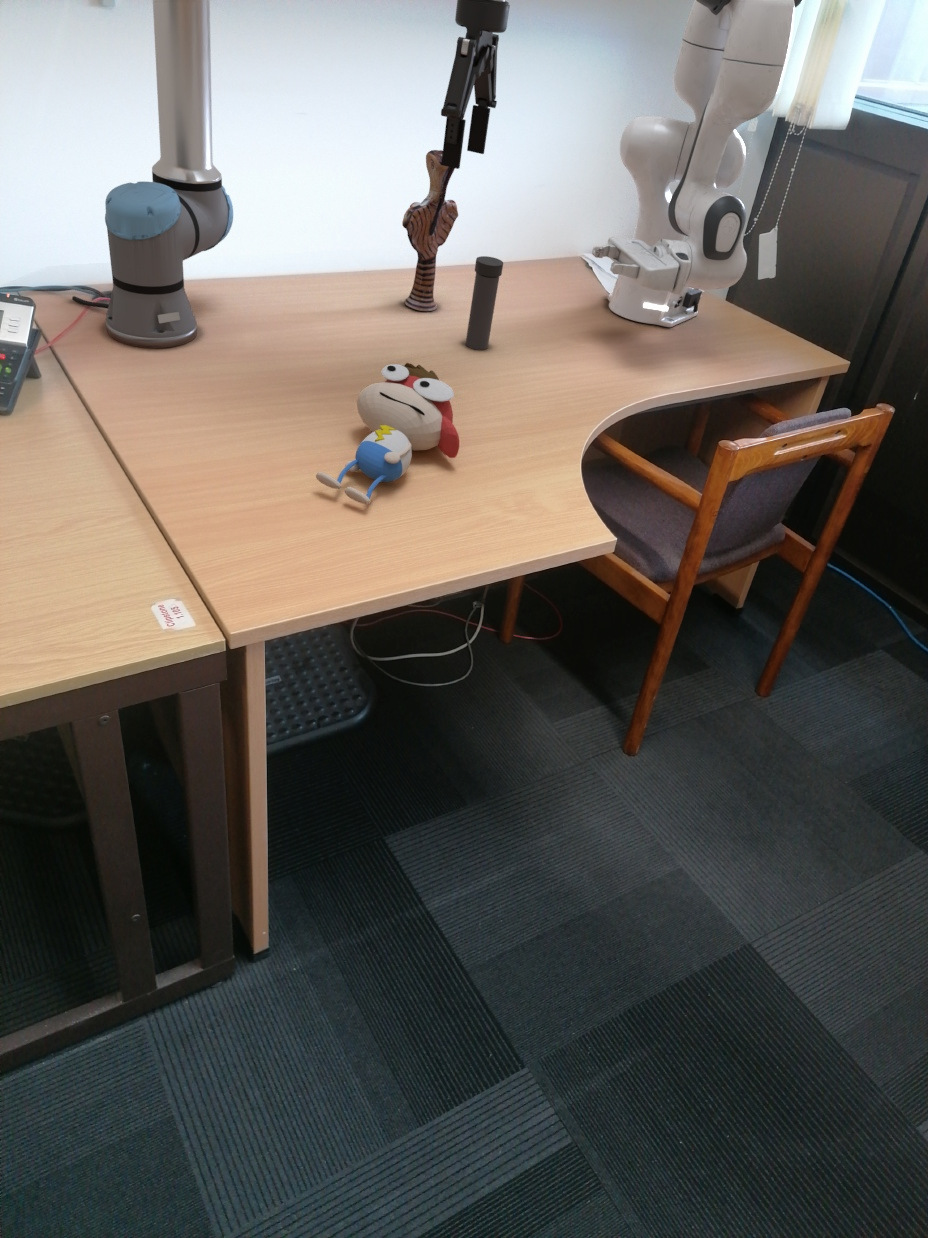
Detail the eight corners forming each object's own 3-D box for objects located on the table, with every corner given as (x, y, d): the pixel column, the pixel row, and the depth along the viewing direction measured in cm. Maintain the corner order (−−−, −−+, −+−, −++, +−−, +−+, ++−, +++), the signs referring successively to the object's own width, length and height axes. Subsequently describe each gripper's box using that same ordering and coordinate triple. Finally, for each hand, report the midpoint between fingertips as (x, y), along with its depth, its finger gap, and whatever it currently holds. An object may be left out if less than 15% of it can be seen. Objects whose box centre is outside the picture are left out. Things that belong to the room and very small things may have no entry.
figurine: (429, 292, 193) (447, 140, 175) (457, 304, 190) (478, 150, 172) (386, 306, 183) (400, 146, 165) (414, 318, 180) (432, 157, 162)
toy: (278, 428, 121) (396, 343, 140) (277, 485, 128) (389, 398, 148) (391, 486, 117) (497, 391, 136) (384, 542, 124) (485, 444, 143)
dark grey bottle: (487, 351, 173) (501, 268, 163) (465, 348, 173) (477, 265, 163) (487, 342, 177) (500, 261, 167) (465, 339, 176) (477, 257, 166)
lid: (501, 278, 164) (503, 267, 163) (474, 274, 164) (476, 262, 162) (501, 269, 168) (503, 258, 167) (474, 265, 168) (476, 254, 166)
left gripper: (485, 3, 116) (463, 178, 129) (530, -3, 135) (506, 151, 148) (431, -8, 117) (414, 167, 130) (483, -12, 136) (463, 141, 149)
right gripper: (649, 230, 180) (587, 225, 176) (694, 264, 165) (627, 259, 161) (641, 262, 184) (580, 258, 180) (684, 298, 169) (619, 294, 165)
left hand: (463, 159), depth 139 cm, fingers open, 13 cm apart
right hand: (602, 259), depth 171 cm, fingers open, 8 cm apart
